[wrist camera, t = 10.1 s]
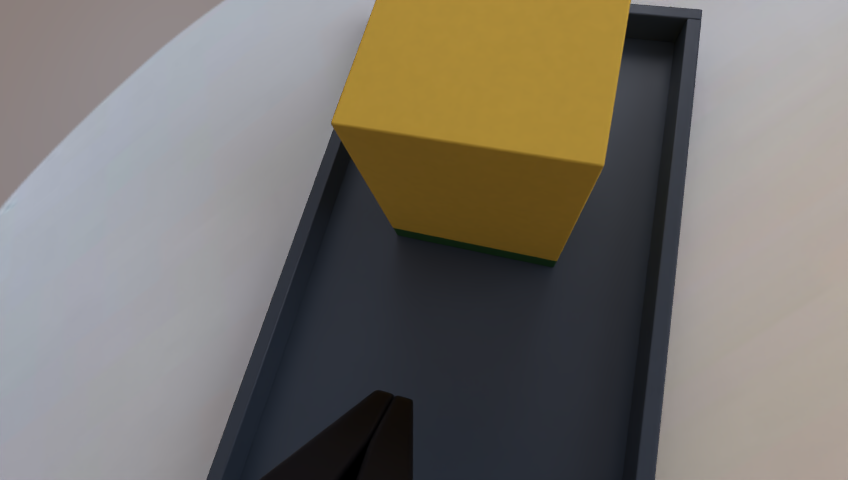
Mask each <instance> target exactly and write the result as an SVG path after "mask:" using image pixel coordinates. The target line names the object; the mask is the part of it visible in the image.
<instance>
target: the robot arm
mask: <svg viewBox="0 0 848 480" xmlns="http://www.w3.org/2000/svg"><path fill="white" fill-rule="evenodd" d="M259 480H413V400H412V399H409V398H406V397H402V396H399V395H397V396H395V397H394V395H393V394H392V393H388V392H385V391H381V390H375V391H374V392H372V393H371V394H370V395H368V396H367V397H366V398H365V399H363V400H362V401H361V402H359V403H358V404H357V405H355V406H354V407H353V408H352V409H350V410H349V411H348V412H346V413H345V414H344V415H342V416H341V417H340V418H338V419H337V420H336V421H335V422H333V423H332V424H331V425H329V426H328V427H327V428H325V429H324V430H323V431H322V432H320V433H319V434H318V435H316V436H315V437H314V438H312V439H311V440H310V441H309V442H307V443H306V444H305V445H303V446H302V447H301V448H299V449H298V450H297V451H296V452H294V453H293V454H292V455H290V456H289V457H288V458H286V459H285V460H284V461H283V462H281V463H280V464H279V465H277V466H276V467H275V468H273V469H272V470H271V471H270V472H268V473H267V474H266V475H264V476H263V477H262V478H260V479H259Z"/></svg>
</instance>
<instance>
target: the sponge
mask: <svg viewBox="0 0 848 480" xmlns="http://www.w3.org/2000/svg"><path fill="white" fill-rule="evenodd" d="M630 3H631V0H376V2H375V4H374V7H373V10H372V13H371V15H370V18H369V21H368V24H367V26H366V29H365V32H364V34H363V37H362V40H361V43H360V45H359V48H358V51H357V54H356V56H355V59H354V62H353V64H352V67H351V70H350V73H349V75H348V78H347V81H346V83H345V86H344V89H343V92H342V94H341V97H340V100H339V103H338V105H337V108H336V111H335V113H334V116H333V119H332V122H331V124H332V126H333V128H334V130H335V131H336V133H337V135H338V136H339V138H340V140H341V141H342V143H343V145H344V146H345V148H346V150H347V151H348V153H349V155H350V156H351V158H352V160H353V162H354V163H355V165H356V167H357V168H358V170H359V172H360V173H361V175H362V177H363V178H364V180H365V182H366V183H367V185H368V187H369V188H370V190H371V192H372V194H373V195H374V197H375V199H376V200H377V202H378V204H379V205H380V207H381V209H382V210H383V212H384V214H385V215H386V217H387V219H388V220H389V222H390V224H391V226H392V227H393V228H394V230H395V232H396V233H397V235H399V236H403V237H408V238H413V239H418V240H423V241H427V242H432V243H437V244H442V245H447V246H452V247H456V248H461V249H466V250H471V251H476V252H480V253H485V254H490V255H495V256H500V257H504V258H509V259H514V260H519V261H524V262H528V263H533V264H538V265H543V266H548V267H554V266H555V264H556V262H557V260H558V258H559V256H560V254H561V252H562V250H563V248H564V246H565V244H566V242H567V240H568V238H569V236H570V234H571V232H572V230H573V228H574V226H575V224H576V222H577V220H578V218H579V216H580V214H581V212H582V210H583V208H584V206H585V204H586V202H587V200H588V197H589V195H590V193H591V191H592V189H593V187H594V185H595V183H596V181H597V179H598V177H599V175H600V173H601V171H602V169H603V167H604V164H605V158H606V152H607V146H608V139H609V133H610V127H611V121H612V115H613V108H614V102H615V96H616V90H617V83H618V77H619V71H620V65H621V59H622V52H623V46H624V40H625V34H626V28H627V21H628V15H629V9H630Z"/></svg>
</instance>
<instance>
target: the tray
mask: <svg viewBox="0 0 848 480" xmlns="http://www.w3.org/2000/svg"><path fill="white" fill-rule="evenodd" d="M701 17H702V10H700V9H687V8H675V7H663V6H650V5H638V4H630V9H629V15H628V21H627V28H626V34H625V40H624V46H623V52H622V59H621V65H620V71H619V77H618V83H617V90H616V96H615V102H614V108H613V115H612V121H611V127H610V133H609V139H608V146H607V152H606V158H605V164H604V167H603V169H602V171H601V173H600V175H599V177H598V179H597V181H596V183H595V185H594V187H593V189H592V191H591V193H590V195H589V197H588V200H587V202H586V204H585V206H584V208H583V210H582V212H581V214H580V216H579V218H578V220H577V222H576V224H575V226H574V228H573V230H572V232H571V234H570V236H569V238H568V240H567V242H566V244H565V246H564V248H563V250H562V252H561V254H560V256H559V258H558V260H557V262H556V264H555V266H554V267H548V266H543V265H538V264H533V263H528V262H524V261H519V260H514V259H509V258H504V257H500V256H495V255H490V254H485V253H480V252H476V251H471V250H466V249H461V248H456V247H452V246H447V245H442V244H437V243H432V242H427V241H423V240H418V239H413V238H408V237H403V236H399V235H397V233H396V232H395V230H394V228H393V227H392V226H391V224H390V222H389V220H388V219H387V217H386V215H385V214H384V212H383V210H382V209H381V207H380V205H379V204H378V202H377V200H376V199H375V197H374V195H373V194H372V192H371V190H370V188H369V187H368V185H367V183H366V182H365V180H364V178H363V177H362V175H361V173H360V172H359V170H358V168H357V167H356V165H355V163H354V162H353V160H352V158H351V156H350V155H349V153H348V151H347V150H346V148H345V146H344V145H343V143H342V141H341V140H340V138H339V136H338V135H337V133H336V131H335V130H334V129H333V132H332V135H331V138H330V140H329V143H328V146H327V149H326V151H325V154H324V157H323V160H322V162H321V165H320V168H319V171H318V173H317V176H316V179H315V182H314V185H313V187H312V190H311V193H310V196H309V198H308V201H307V204H306V207H305V209H304V212H303V215H302V218H301V220H300V223H299V226H298V229H297V231H296V234H295V237H294V240H293V242H292V245H291V248H290V251H289V253H288V256H287V259H286V262H285V265H284V267H283V270H282V273H281V276H280V278H279V281H278V284H277V287H276V289H275V292H274V295H273V298H272V300H271V303H270V306H269V309H268V311H267V314H266V317H265V320H264V322H263V325H262V328H261V331H260V333H259V336H258V339H257V342H256V344H255V347H254V350H253V353H252V356H251V358H250V361H249V364H248V367H247V369H246V372H245V375H244V378H243V380H242V383H241V386H240V389H239V391H238V394H237V397H236V400H235V402H234V405H233V408H232V411H231V413H230V416H229V419H228V422H227V424H226V427H225V430H224V433H223V436H222V438H221V441H220V444H219V447H218V449H217V452H216V455H215V458H214V460H213V463H212V466H211V469H210V471H209V474H208V477H207V480H259V479H260V478H262V477H263V476H264V475H266V474H267V473H268V472H270V471H271V470H272V469H273V468H275V467H276V466H277V465H279V464H280V463H281V462H283V461H284V460H285V459H286V458H288V457H289V456H290V455H292V454H293V453H294V452H296V451H297V450H298V449H299V448H301V447H302V446H303V445H305V444H306V443H307V442H309V441H310V440H311V439H312V438H314V437H315V436H316V435H318V434H319V433H320V432H322V431H323V430H324V429H325V428H327V427H328V426H329V425H331V424H332V423H333V422H335V421H336V420H337V419H338V418H340V417H341V416H342V415H344V414H345V413H346V412H348V411H349V410H350V409H352V408H353V407H354V406H355V405H357V404H358V403H359V402H361V401H362V400H363V399H365V398H366V397H367V396H368V395H370V394H371V393H372V392H374V391H375V390H381V391H385V392H388V393H392V394H393V395H394V397H395V396H397V395H399V396H402V397H406V398H409V399H412V400H413V480H655V473H656V463H657V453H658V443H659V433H660V423H661V414H662V404H663V394H664V384H665V374H666V364H667V354H668V344H669V335H670V325H671V315H672V305H673V295H674V285H675V275H676V265H677V256H678V246H679V236H680V226H681V216H682V206H683V196H684V186H685V176H686V167H687V157H688V147H689V137H690V127H691V117H692V107H693V97H694V88H695V78H696V68H697V58H698V48H699V38H700V28H701Z"/></svg>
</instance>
